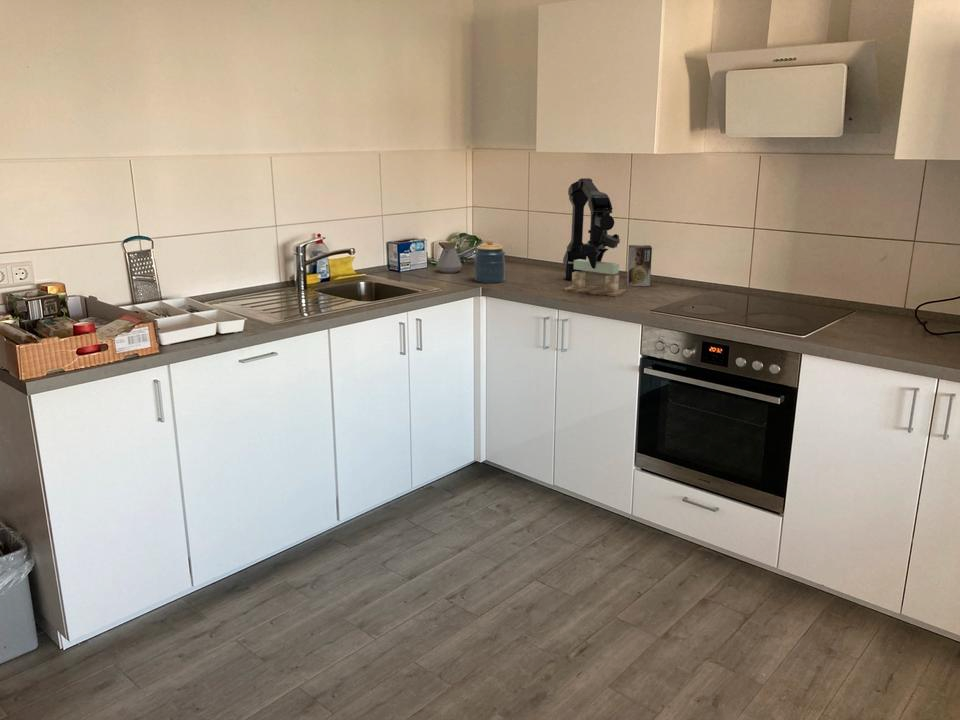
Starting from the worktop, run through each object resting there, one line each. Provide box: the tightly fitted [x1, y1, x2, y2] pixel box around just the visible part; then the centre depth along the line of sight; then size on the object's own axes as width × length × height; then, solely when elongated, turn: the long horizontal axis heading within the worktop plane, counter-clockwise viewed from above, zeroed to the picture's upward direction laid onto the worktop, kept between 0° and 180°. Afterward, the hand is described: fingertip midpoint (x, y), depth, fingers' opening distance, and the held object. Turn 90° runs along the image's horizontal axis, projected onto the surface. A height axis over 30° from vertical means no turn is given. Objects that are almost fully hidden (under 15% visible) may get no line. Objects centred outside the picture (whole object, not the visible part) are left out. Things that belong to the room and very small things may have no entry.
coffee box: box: [626, 244, 653, 287], centre depth 315 cm, size 9×6×16 cm
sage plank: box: [574, 259, 620, 275], centre depth 300 cm, size 18×4×4 cm, turn 51°
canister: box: [474, 238, 506, 284], centre depth 322 cm, size 13×13×18 cm
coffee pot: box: [436, 242, 463, 274], centre depth 339 cm, size 21×12×15 cm, turn 166°
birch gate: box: [563, 271, 627, 297], centre depth 302 cm, size 22×11×7 cm, turn 60°
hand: (595, 267), depth 300 cm, fingers closed on sage plank, 4 cm apart
